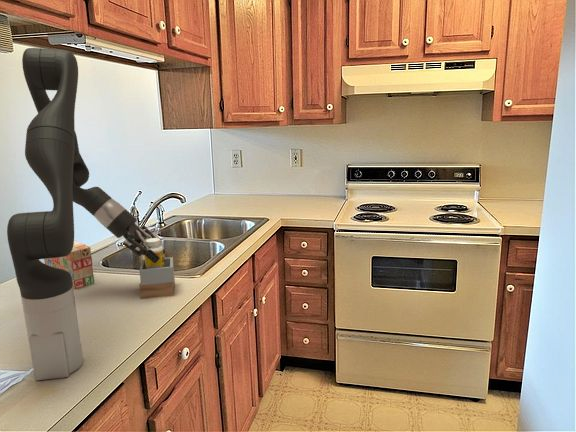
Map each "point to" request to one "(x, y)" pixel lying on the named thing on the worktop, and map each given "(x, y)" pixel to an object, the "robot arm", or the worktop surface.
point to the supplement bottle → (156, 248)
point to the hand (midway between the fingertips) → (160, 257)
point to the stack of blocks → (76, 265)
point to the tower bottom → (157, 290)
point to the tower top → (157, 273)
